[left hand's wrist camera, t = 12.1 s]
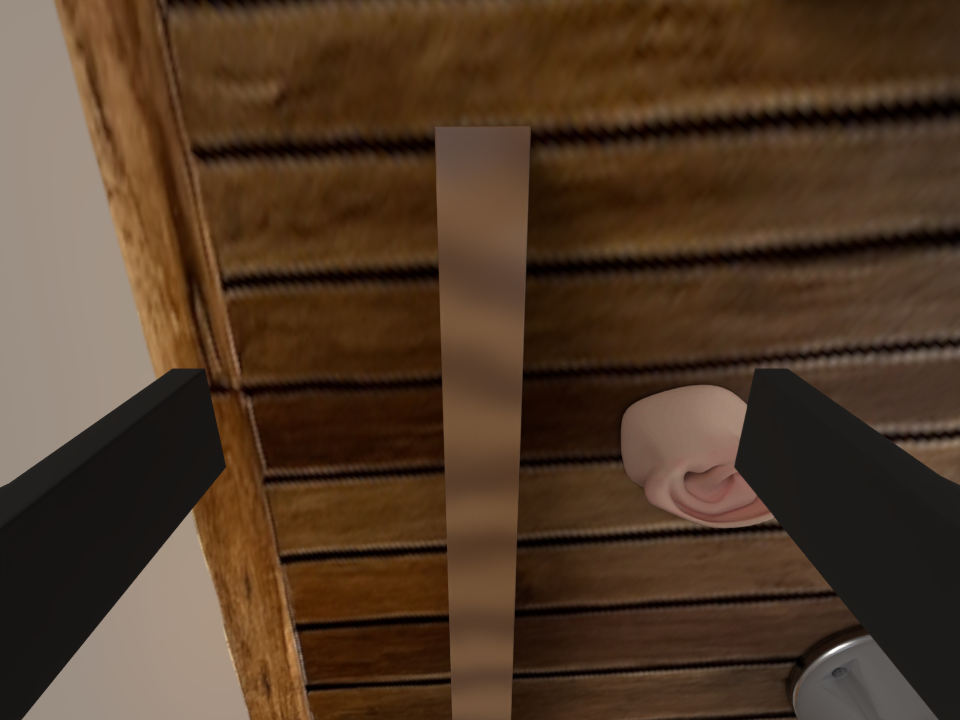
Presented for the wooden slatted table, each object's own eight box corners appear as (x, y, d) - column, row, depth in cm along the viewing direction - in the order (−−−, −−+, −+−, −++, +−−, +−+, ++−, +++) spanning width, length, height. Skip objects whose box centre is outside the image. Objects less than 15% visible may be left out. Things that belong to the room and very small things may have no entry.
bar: (443, 131, 34) (434, 126, 26) (520, 131, 34) (530, 126, 26) (459, 788, 59) (457, 874, 52) (502, 788, 59) (505, 874, 52)
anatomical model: (605, 450, 38) (754, 371, 35) (594, 423, 41) (728, 350, 39) (682, 568, 42) (820, 504, 39) (666, 534, 45) (791, 474, 43)
